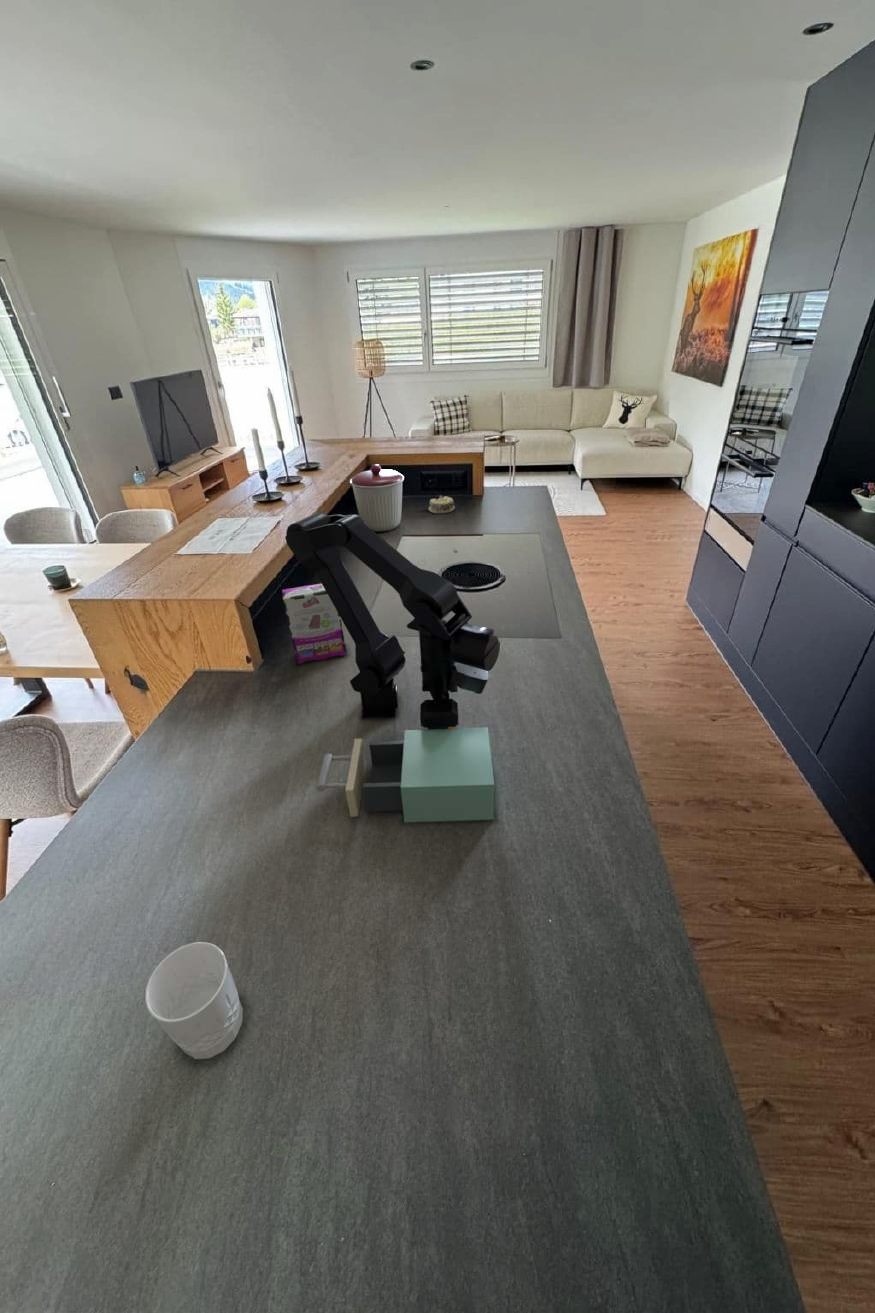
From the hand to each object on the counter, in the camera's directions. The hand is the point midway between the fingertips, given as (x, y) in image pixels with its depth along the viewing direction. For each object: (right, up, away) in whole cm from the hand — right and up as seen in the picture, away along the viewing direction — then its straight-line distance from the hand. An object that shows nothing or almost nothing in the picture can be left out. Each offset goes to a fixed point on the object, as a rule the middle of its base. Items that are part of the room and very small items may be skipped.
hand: (440, 724), depth 102 cm
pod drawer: (-10, -9, -12) cm, 18 cm away
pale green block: (+1, -9, -12) cm, 15 cm away
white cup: (-26, -29, -40) cm, 55 cm away
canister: (-20, +58, +91) cm, 110 cm away
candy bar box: (-27, +13, +24) cm, 38 cm away
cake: (+1, +67, +104) cm, 124 cm away
